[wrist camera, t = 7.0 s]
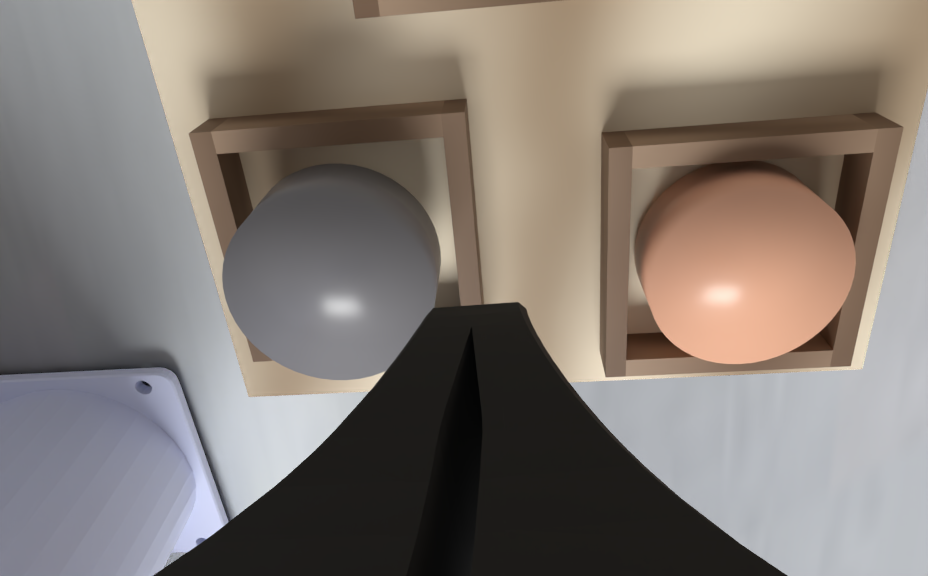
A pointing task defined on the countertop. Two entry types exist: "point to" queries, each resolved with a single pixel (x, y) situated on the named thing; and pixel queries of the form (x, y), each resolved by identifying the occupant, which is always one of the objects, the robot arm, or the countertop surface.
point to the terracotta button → (743, 262)
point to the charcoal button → (333, 271)
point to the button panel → (548, 141)
